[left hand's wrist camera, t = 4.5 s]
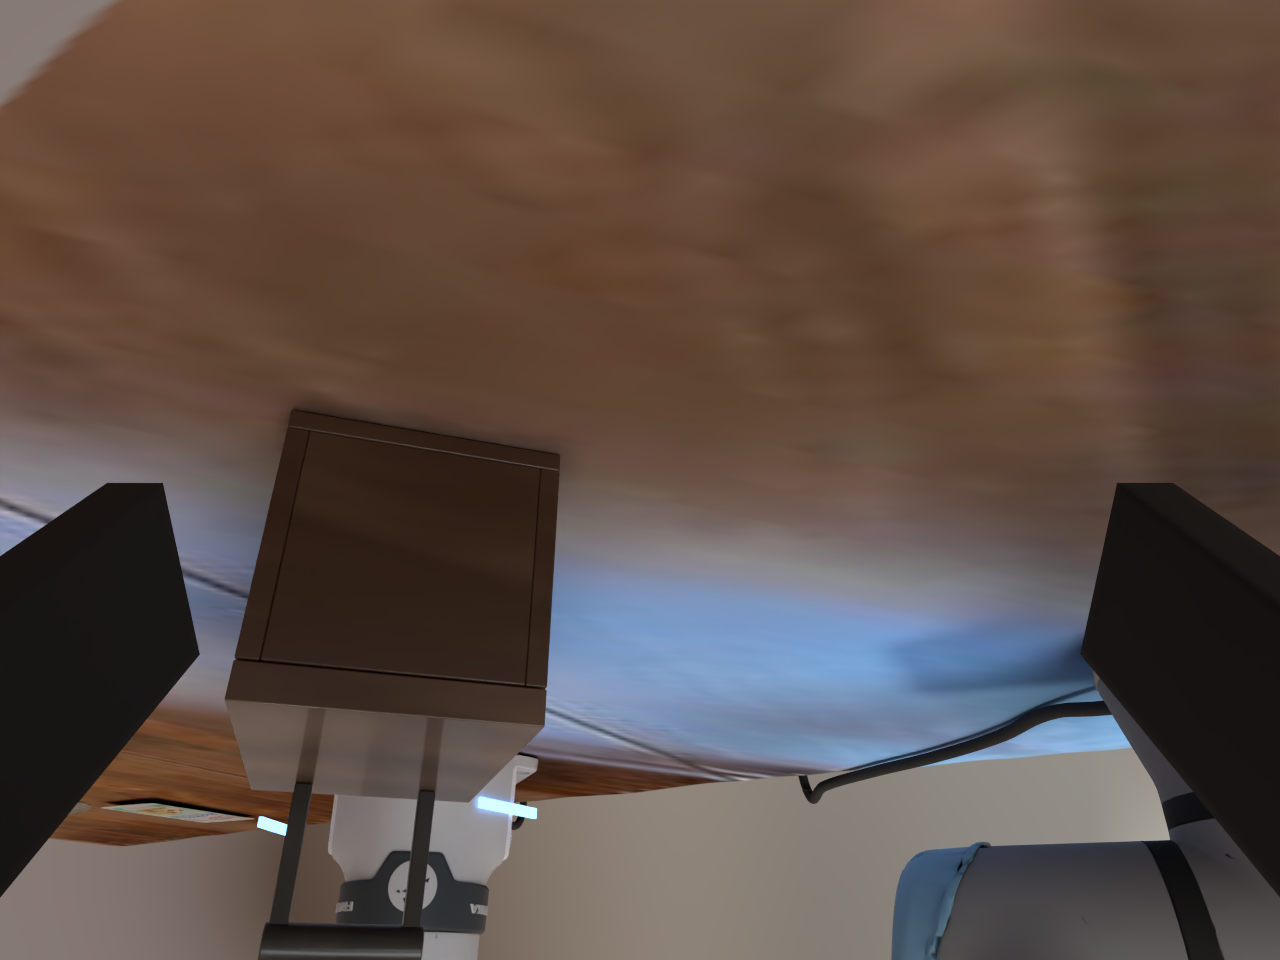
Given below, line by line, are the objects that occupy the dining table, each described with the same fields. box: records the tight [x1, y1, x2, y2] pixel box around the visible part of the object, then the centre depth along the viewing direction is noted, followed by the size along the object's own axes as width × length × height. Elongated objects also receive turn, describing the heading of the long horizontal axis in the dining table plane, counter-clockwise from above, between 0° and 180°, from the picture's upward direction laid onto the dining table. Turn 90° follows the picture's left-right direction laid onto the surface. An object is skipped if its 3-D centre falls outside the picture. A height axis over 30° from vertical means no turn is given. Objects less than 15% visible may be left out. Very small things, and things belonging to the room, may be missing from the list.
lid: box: [225, 660, 546, 960], centre depth 33 cm, size 16×10×8 cm, turn 162°
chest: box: [235, 410, 560, 689], centre depth 36 cm, size 15×10×9 cm, turn 162°
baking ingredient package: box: [100, 803, 252, 823], centre depth 108 cm, size 9×1×15 cm
